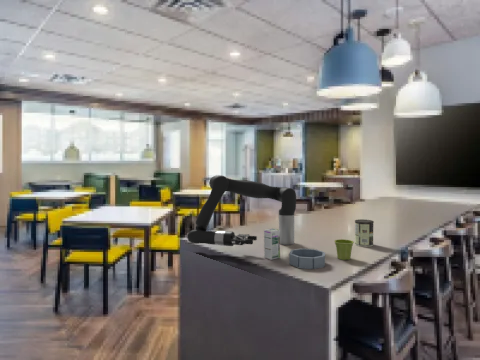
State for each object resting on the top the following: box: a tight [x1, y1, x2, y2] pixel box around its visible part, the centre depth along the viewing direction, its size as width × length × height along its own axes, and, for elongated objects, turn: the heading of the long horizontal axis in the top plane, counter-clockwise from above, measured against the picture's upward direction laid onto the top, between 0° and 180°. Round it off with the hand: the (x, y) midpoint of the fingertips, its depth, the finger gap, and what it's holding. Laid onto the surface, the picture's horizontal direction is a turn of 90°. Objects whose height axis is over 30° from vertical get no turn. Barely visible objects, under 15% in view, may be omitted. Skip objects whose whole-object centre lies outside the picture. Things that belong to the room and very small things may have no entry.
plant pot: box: [334, 238, 355, 261], centre depth 168 cm, size 9×9×9 cm
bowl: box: [288, 247, 326, 270], centre depth 160 cm, size 16×16×5 cm
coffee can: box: [354, 219, 375, 248], centre depth 195 cm, size 10×10×14 cm
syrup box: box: [263, 227, 281, 261], centre depth 170 cm, size 6×6×14 cm
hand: (254, 240), depth 172 cm, fingers open, 8 cm apart
